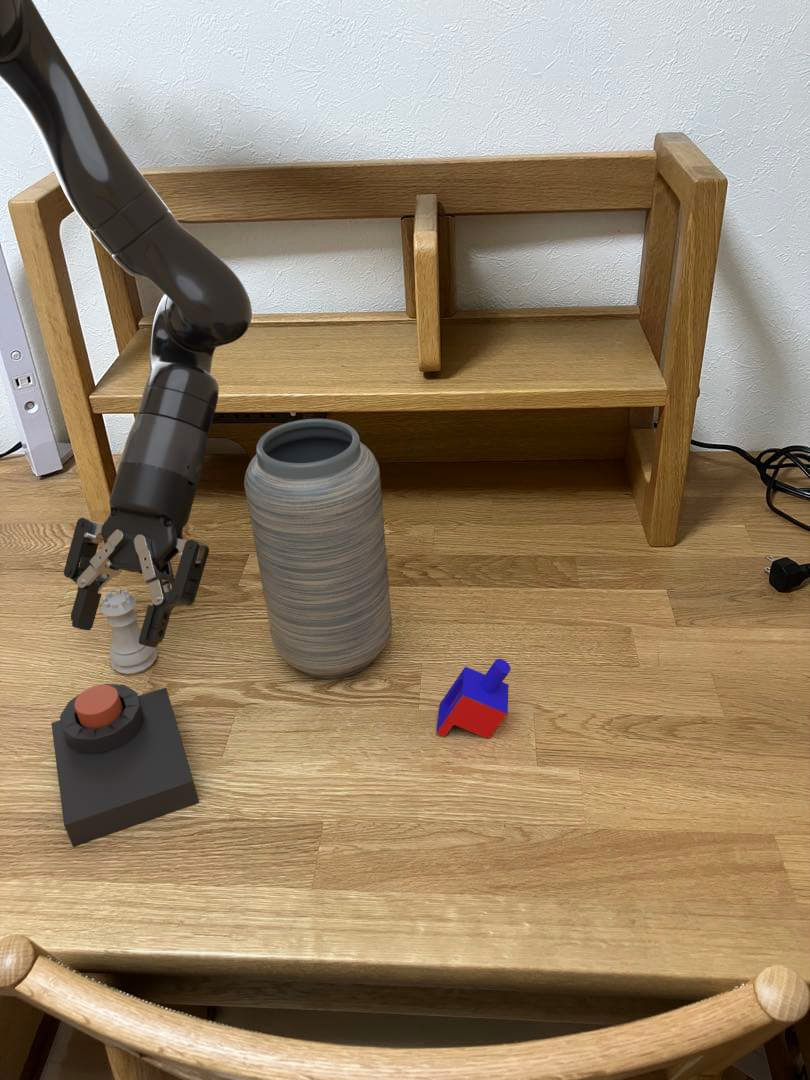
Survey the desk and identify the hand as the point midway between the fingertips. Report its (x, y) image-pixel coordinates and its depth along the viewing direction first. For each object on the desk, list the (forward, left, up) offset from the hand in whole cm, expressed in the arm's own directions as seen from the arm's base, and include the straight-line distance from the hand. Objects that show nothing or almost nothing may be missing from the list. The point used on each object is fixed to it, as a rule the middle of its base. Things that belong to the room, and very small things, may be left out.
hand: (114, 637), depth 84 cm
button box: (+8, -10, -4) cm, 14 cm away
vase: (+18, +10, -5) cm, 21 cm away
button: (+5, -8, 0) cm, 10 cm away
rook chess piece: (0, +2, -5) cm, 5 cm away
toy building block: (+34, +5, -5) cm, 35 cm away
